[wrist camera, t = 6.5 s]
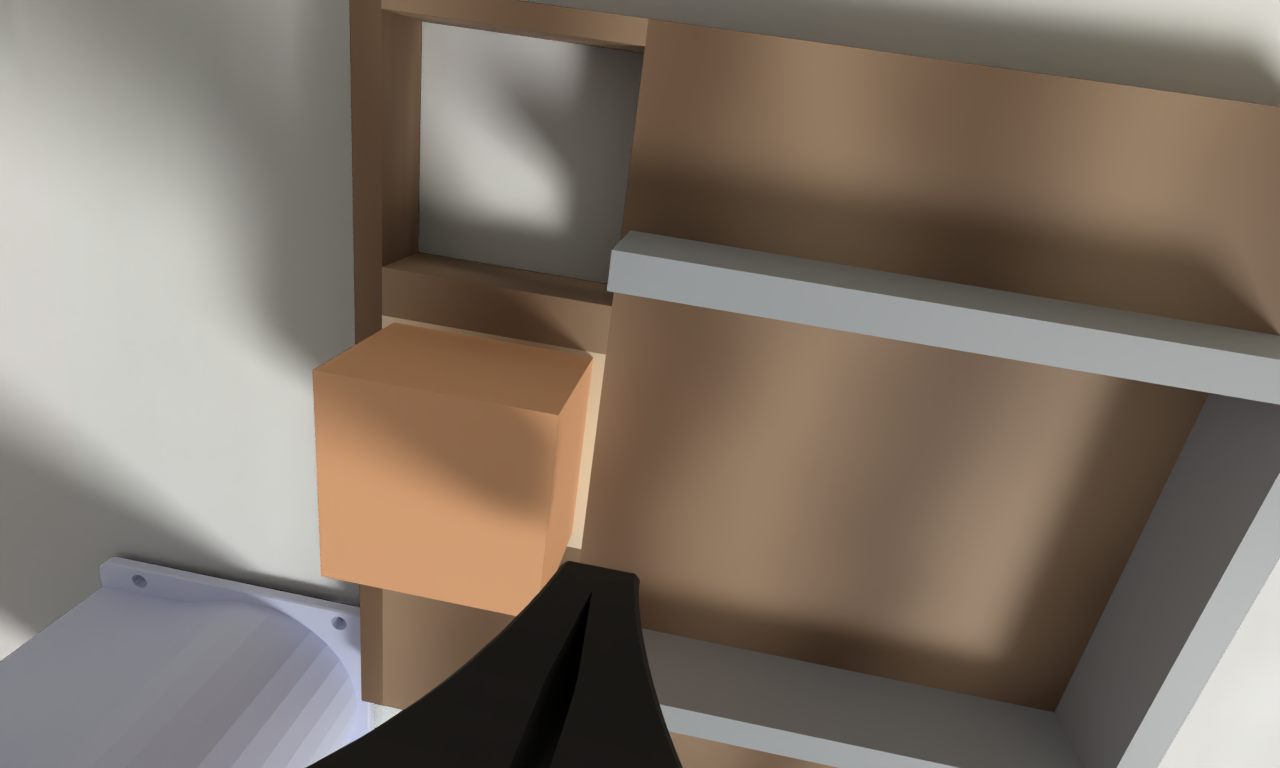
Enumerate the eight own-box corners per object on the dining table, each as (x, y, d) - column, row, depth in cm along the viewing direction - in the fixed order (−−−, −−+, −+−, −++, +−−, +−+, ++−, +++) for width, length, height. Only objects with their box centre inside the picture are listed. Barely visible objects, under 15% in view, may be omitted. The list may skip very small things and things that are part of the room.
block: (393, 497, 19) (321, 576, 15) (394, 321, 17) (312, 369, 14) (572, 532, 18) (537, 620, 15) (593, 357, 17) (558, 415, 13)
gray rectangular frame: (576, 637, 20) (555, 707, 17) (630, 230, 15) (611, 250, 13) (1073, 740, 19) (1122, 828, 16) (1280, 335, 14) (1385, 377, 12)
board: (390, 655, 24) (361, 700, 22) (393, -7, 16) (348, -24, 14) (1003, 785, 22) (1027, 846, 20) (1317, 123, 15) (1400, 123, 13)
